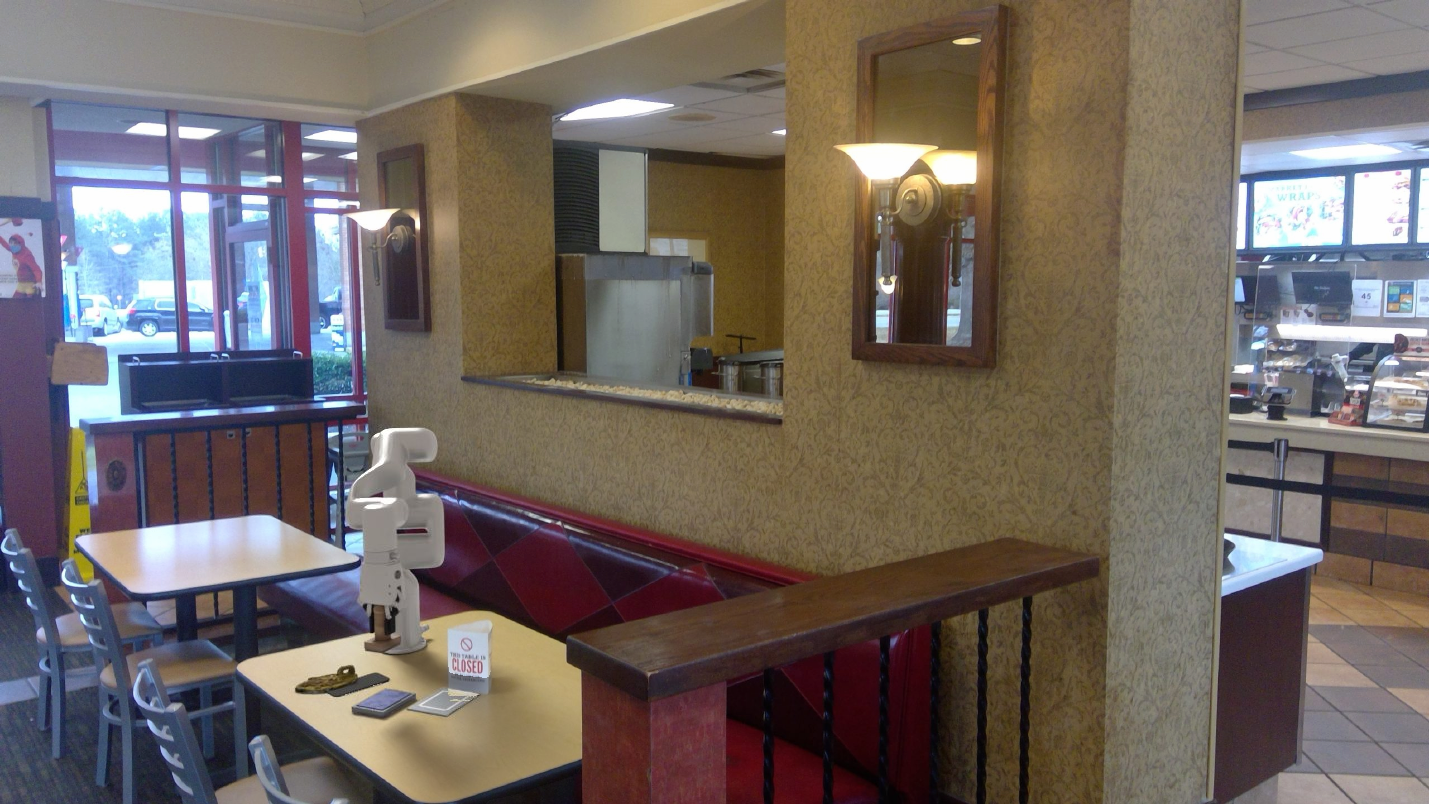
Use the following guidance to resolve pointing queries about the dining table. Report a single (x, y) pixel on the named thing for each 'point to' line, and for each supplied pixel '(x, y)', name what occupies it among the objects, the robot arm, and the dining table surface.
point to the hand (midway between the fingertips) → (382, 632)
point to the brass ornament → (328, 681)
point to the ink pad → (383, 703)
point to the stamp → (381, 634)
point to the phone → (359, 684)
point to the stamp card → (440, 703)
